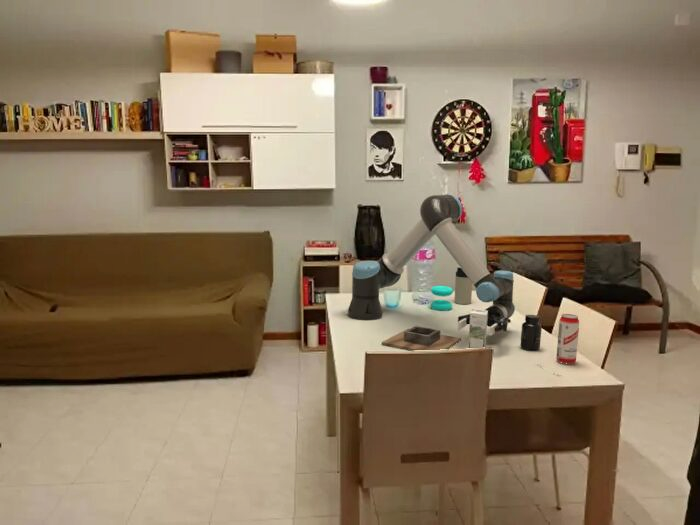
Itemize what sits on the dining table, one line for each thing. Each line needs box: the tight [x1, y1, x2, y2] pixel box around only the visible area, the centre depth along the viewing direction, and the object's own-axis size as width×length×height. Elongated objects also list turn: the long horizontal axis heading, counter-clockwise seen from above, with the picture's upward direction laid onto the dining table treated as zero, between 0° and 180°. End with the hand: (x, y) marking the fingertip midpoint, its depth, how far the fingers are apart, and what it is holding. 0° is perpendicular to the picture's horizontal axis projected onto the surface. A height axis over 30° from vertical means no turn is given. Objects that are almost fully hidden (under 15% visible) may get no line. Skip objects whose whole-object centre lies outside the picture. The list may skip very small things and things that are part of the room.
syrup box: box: [467, 308, 488, 349], centre depth 197 cm, size 6×6×14 cm
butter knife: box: [536, 364, 563, 377], centre depth 185 cm, size 1×24×3 cm
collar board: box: [381, 325, 462, 351], centre depth 206 cm, size 22×22×4 cm
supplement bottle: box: [520, 314, 542, 352], centre depth 201 cm, size 7×7×12 cm
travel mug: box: [454, 264, 473, 305], centre depth 269 cm, size 8×8×18 cm
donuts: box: [430, 285, 454, 311], centre depth 258 cm, size 10×10×10 cm
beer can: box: [555, 313, 580, 365], centre depth 187 cm, size 6×6×16 cm
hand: (474, 328), depth 193 cm, fingers open, 11 cm apart
